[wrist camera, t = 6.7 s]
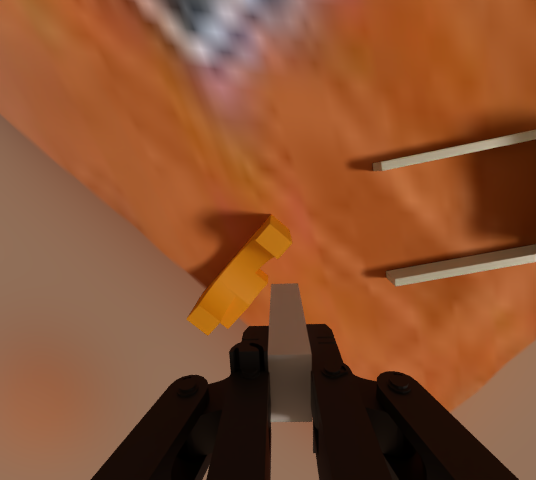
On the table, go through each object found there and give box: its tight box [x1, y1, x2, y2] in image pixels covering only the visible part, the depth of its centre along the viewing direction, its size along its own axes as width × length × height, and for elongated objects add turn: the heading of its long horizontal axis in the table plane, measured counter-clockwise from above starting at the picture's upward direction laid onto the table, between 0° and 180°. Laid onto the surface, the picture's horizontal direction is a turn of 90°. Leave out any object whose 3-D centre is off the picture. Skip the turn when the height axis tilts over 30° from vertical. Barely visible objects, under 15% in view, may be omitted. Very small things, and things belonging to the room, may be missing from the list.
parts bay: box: [373, 129, 536, 286], centre depth 29 cm, size 13×17×2 cm
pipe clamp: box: [187, 214, 292, 335], centre depth 29 cm, size 12×4×6 cm, turn 139°
